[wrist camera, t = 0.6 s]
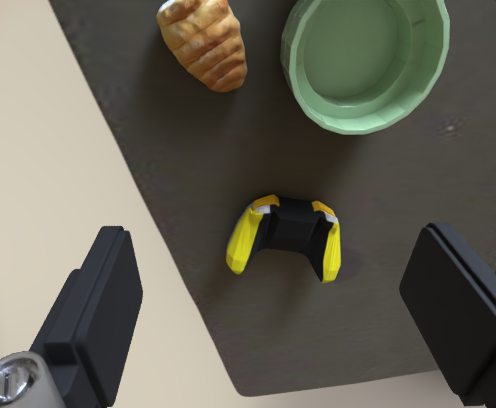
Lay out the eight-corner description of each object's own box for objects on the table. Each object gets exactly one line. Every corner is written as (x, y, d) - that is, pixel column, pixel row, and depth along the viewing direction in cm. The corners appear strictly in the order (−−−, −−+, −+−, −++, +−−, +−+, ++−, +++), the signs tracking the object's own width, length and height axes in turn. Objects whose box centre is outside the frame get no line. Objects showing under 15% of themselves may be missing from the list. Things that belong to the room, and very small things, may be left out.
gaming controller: (327, 259, 49) (351, 202, 44) (336, 288, 45) (365, 229, 39) (224, 247, 47) (236, 186, 42) (223, 277, 42) (237, 212, 37)
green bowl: (284, -35, 30) (296, -38, 24) (430, -34, 30) (474, -36, 25) (276, 112, 37) (284, 135, 31) (394, 111, 37) (422, 134, 32)
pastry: (263, 68, 34) (266, 77, 31) (207, 101, 36) (204, 114, 33) (212, -31, 29) (209, -31, 26) (150, 13, 31) (141, 18, 28)
